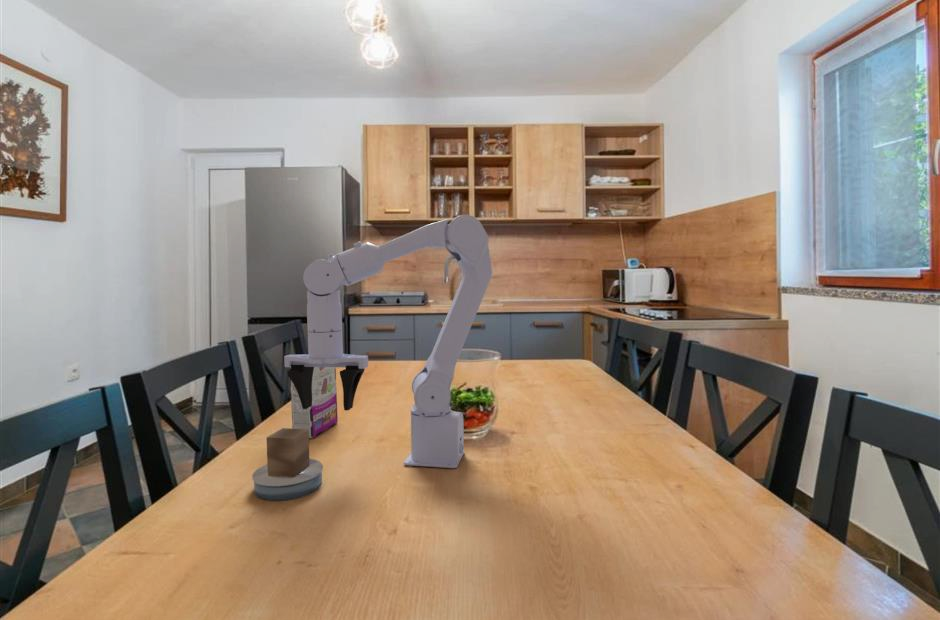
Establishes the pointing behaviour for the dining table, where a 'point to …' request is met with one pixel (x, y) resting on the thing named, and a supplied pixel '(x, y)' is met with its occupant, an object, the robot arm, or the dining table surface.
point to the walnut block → (288, 452)
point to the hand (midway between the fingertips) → (327, 408)
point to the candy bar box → (317, 403)
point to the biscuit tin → (287, 483)
